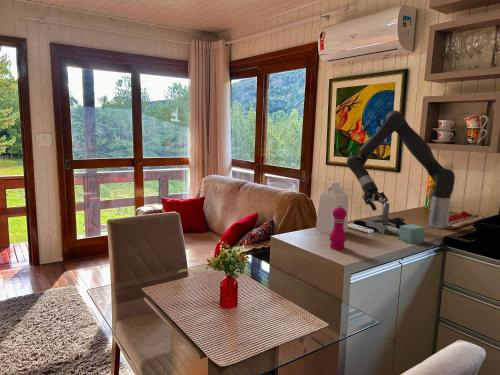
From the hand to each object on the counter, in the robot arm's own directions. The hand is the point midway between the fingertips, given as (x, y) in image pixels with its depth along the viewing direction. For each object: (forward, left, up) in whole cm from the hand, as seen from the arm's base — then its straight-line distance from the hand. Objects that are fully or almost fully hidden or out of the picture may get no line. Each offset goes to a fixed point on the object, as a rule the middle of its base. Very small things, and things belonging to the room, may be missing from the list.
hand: (381, 209), depth 196 cm
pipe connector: (-12, -1, -12) cm, 17 cm away
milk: (+27, -7, -11) cm, 30 cm away
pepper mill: (+42, +16, -11) cm, 46 cm away
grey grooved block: (0, +1, -11) cm, 11 cm away
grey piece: (0, +5, -10) cm, 11 cm away
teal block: (0, +20, -11) cm, 23 cm away
